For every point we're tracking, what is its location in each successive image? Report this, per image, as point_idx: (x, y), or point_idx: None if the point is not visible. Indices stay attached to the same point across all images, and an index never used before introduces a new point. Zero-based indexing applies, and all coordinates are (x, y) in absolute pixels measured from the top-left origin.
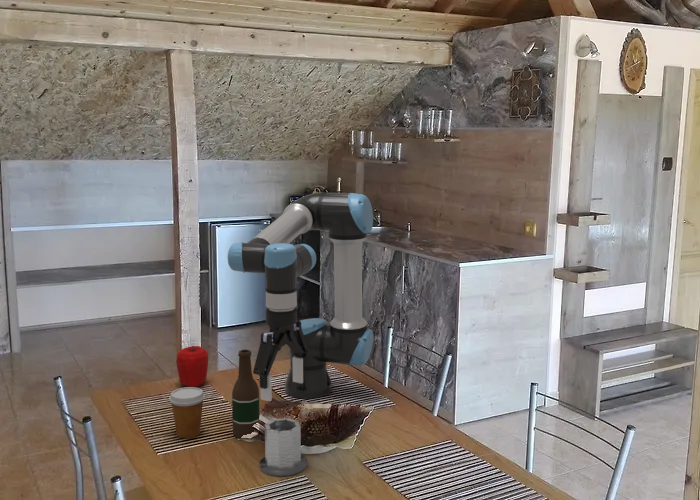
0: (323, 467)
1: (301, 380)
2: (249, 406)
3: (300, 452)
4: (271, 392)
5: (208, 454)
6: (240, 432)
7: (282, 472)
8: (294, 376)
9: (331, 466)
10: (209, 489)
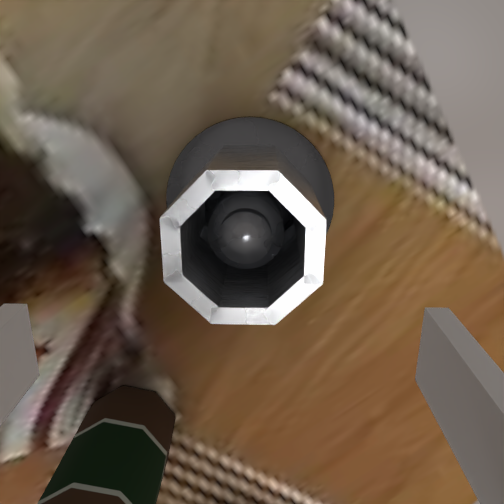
0: (187, 63)
1: (14, 315)
2: (127, 478)
3: (220, 151)
4: (452, 339)
5: (306, 429)
6: (171, 428)
7: (310, 165)
8: (15, 387)
9: (164, 39)
10: (490, 304)
